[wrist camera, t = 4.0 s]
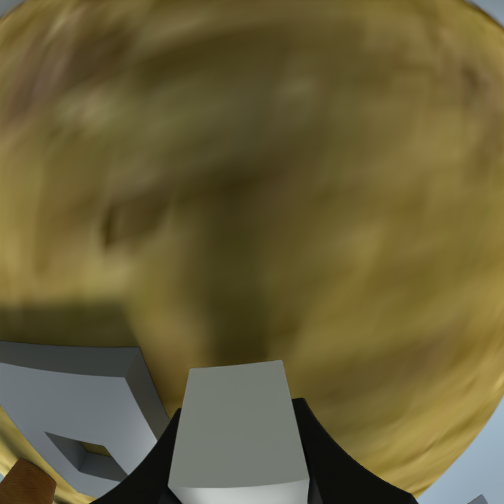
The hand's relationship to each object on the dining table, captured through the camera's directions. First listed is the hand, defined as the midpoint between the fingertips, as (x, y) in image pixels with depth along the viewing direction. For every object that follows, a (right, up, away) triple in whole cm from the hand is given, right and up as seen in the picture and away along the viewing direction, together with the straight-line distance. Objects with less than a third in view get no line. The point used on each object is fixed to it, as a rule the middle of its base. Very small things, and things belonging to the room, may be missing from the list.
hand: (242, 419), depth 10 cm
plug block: (0, 0, +1) cm, 2 cm away
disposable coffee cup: (-29, -23, +9) cm, 38 cm away
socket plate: (-11, -7, +5) cm, 14 cm away
